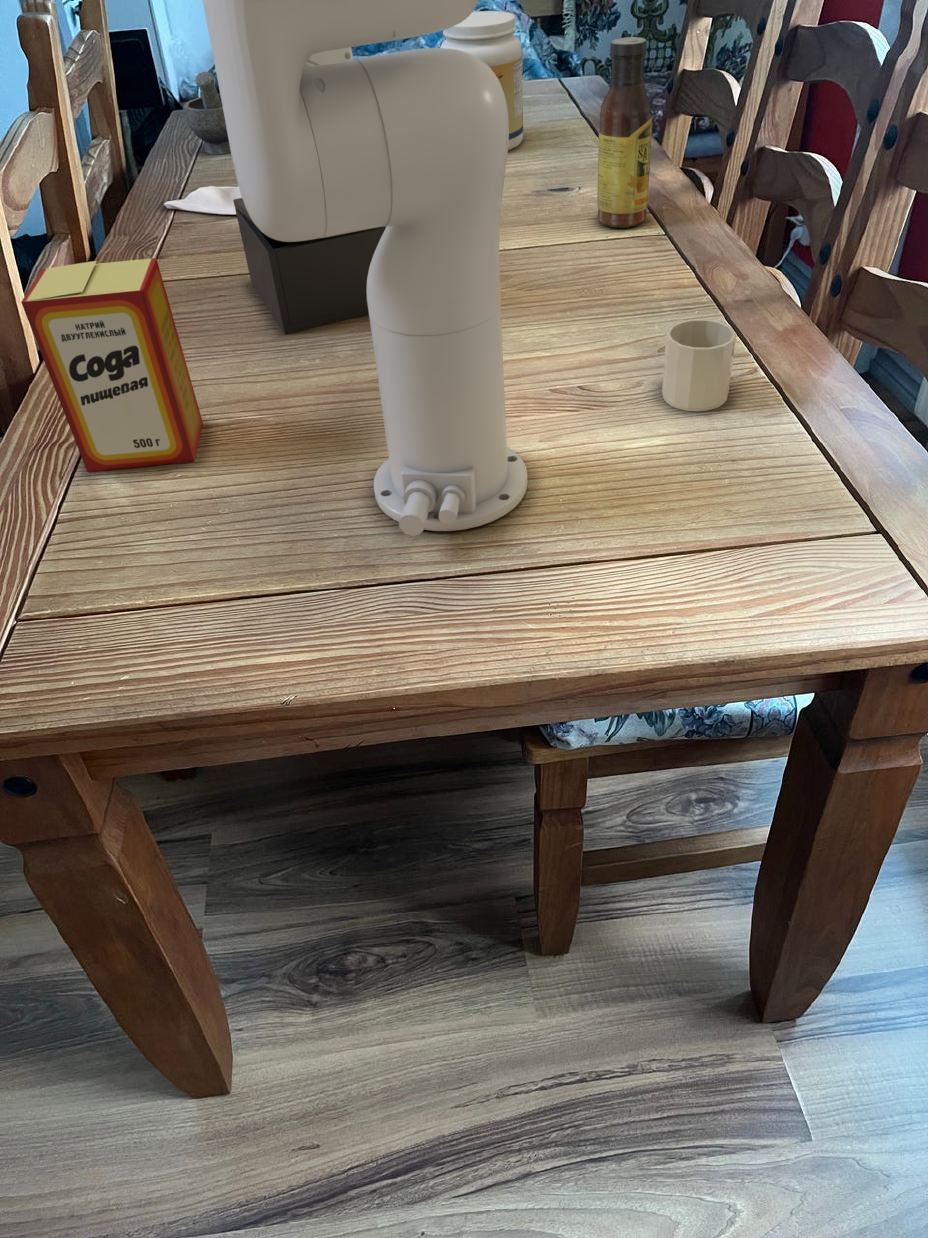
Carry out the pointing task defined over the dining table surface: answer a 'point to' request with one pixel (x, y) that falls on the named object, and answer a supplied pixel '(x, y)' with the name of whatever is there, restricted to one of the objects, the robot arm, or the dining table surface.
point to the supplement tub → (495, 57)
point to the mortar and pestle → (208, 116)
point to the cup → (698, 364)
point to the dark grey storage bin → (310, 275)
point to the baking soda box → (116, 362)
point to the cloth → (208, 200)
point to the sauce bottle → (625, 138)
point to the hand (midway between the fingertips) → (320, 199)
